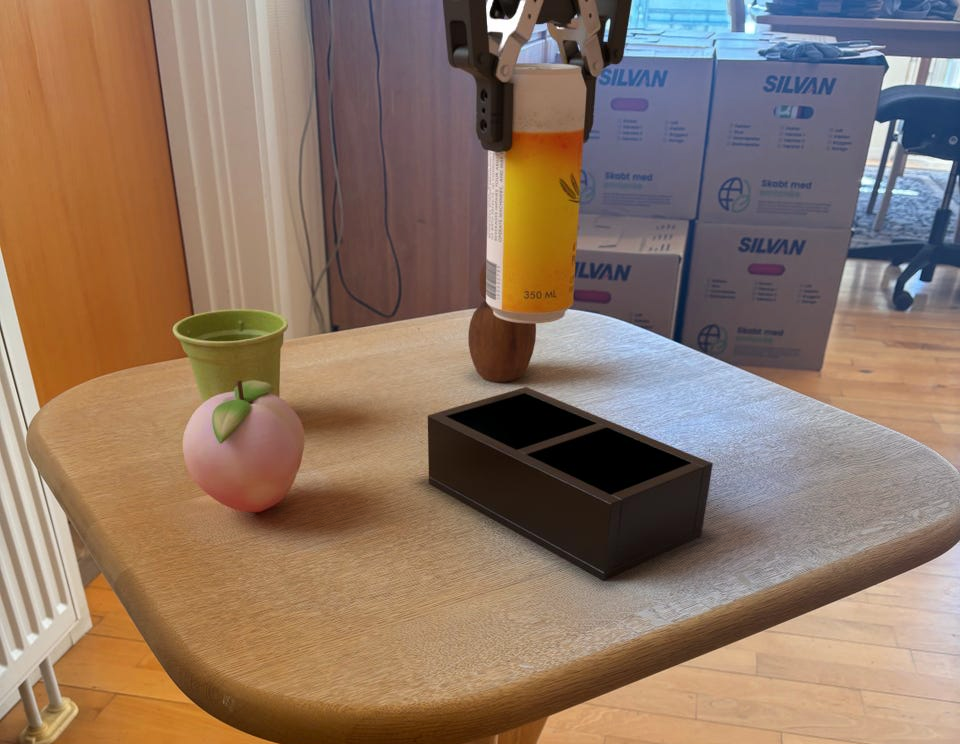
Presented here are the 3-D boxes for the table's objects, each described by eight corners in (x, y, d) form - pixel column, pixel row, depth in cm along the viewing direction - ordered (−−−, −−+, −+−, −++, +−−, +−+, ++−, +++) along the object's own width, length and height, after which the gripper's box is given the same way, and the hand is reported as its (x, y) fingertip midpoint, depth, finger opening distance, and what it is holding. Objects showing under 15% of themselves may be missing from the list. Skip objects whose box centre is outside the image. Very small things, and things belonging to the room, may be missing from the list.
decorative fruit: (211, 484, 76) (191, 357, 70) (316, 485, 76) (304, 358, 70) (179, 541, 68) (154, 404, 62) (297, 543, 68) (282, 406, 62)
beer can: (589, 318, 67) (607, 68, 59) (514, 330, 65) (522, 71, 56) (542, 297, 72) (552, 61, 63) (470, 308, 69) (471, 63, 61)
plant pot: (219, 452, 81) (204, 348, 76) (171, 419, 87) (154, 320, 82) (317, 426, 86) (308, 327, 81) (264, 396, 92) (253, 302, 87)
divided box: (523, 454, 81) (526, 386, 78) (701, 538, 69) (713, 463, 66) (428, 485, 76) (427, 415, 73) (603, 583, 64) (611, 503, 61)
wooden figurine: (510, 392, 93) (516, 226, 85) (459, 381, 96) (459, 218, 87) (542, 372, 98) (550, 213, 90) (493, 362, 100) (496, 206, 92)
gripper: (493, -221, 47) (487, 164, 56) (689, -190, 54) (655, 144, 64) (401, -203, 51) (410, 148, 61) (593, -177, 59) (575, 132, 68)
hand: (536, 145), depth 62 cm, fingers closed on beer can, 6 cm apart
